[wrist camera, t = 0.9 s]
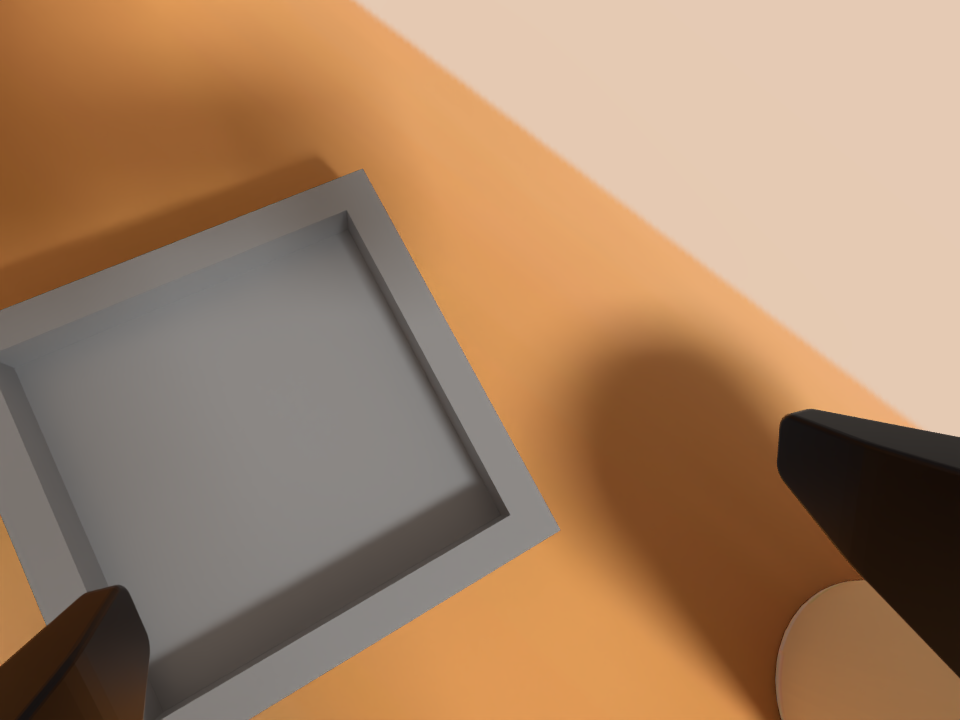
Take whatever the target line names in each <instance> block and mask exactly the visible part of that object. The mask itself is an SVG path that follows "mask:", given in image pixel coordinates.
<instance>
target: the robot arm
mask: <svg viewBox="0 0 960 720" xmlns="http://www.w3.org/2000/svg"><path fill="white" fill-rule="evenodd" d="M777 467H778V471H779V474H780V476H781V478H782V480H783V481H784V483H785V484H786V485H787V486H788V488H789V489H790V490H791V491H792V493H793V494H794V495H795V496H796V498H797V499H798V500H799V501H800V503H801V504H802V505H803V506H804V508H805V509H806V510H807V511H808V513H809V514H810V515H811V516H812V518H813V519H814V520H815V522H816V523H817V524H818V525H819V527H820V528H821V529H822V530H823V532H824V533H825V534H826V535H827V537H828V538H829V539H830V540H831V542H832V543H833V544H834V545H835V547H836V548H837V549H838V550H839V551H840V553H841V554H842V555H843V556H844V557H845V559H846V560H847V561H848V562H849V563H850V564H851V565H852V567H853V568H854V569H855V570H856V571H857V572H858V573H859V574H860V575H861V576H862V577H863V578H864V579H865V581H866V582H867V583H868V584H869V585H870V586H871V587H872V588H873V589H874V590H875V591H876V592H877V593H878V594H879V595H880V596H881V597H882V598H883V599H884V600H885V601H886V602H887V603H888V604H889V606H890V607H891V608H892V609H893V610H894V611H895V612H896V613H897V614H898V615H899V616H900V617H901V618H902V619H903V620H904V621H905V622H906V623H907V624H908V625H909V626H910V627H911V628H912V629H913V631H914V632H915V633H916V634H917V635H918V636H919V637H920V638H921V639H922V640H923V641H924V642H925V643H926V644H927V645H928V646H929V647H930V648H931V649H932V650H933V651H934V652H935V653H936V654H937V656H938V657H939V658H940V659H941V660H942V661H943V662H944V663H945V664H946V665H947V666H948V667H949V668H950V669H951V670H952V671H953V672H954V673H955V674H956V675H957V676H958V677H959V678H960V437H955V436H950V435H945V434H940V433H935V432H930V431H925V430H919V429H914V428H909V427H904V426H899V425H893V424H888V423H883V422H878V421H873V420H867V419H862V418H857V417H852V416H847V415H841V414H836V413H831V412H826V411H821V410H815V409H806V410H802V411H798V412H794V413H791V414H787V415H785V416H784V417H783V418H782V420H781V422H780V427H779V441H778V454H777ZM149 659H150V643H149V638H148V634H147V632H146V629H145V627H144V625H143V622H142V620H141V618H140V616H139V613H138V611H137V609H136V606H135V604H134V602H133V600H132V597H131V595H130V593H129V591H128V590H127V589H126V588H125V587H124V586H122V585H119V584H117V585H113V586H109V587H105V588H101V589H97V590H93V591H89V592H86V593H84V594H82V595H81V596H80V597H79V598H78V599H76V600H75V601H74V602H73V603H72V604H71V605H70V606H69V607H67V608H66V609H65V610H64V611H63V612H62V613H61V614H59V615H58V616H57V617H56V618H55V619H54V620H53V621H51V622H50V623H49V624H48V625H47V626H46V627H45V628H44V629H42V630H41V631H40V632H39V633H38V634H37V635H36V636H34V637H33V638H32V639H31V640H30V641H29V642H28V643H26V644H25V645H24V646H23V647H22V648H21V649H20V650H19V651H17V652H16V653H15V654H14V655H13V656H12V657H11V658H9V659H8V660H7V661H6V662H5V663H4V664H3V665H1V666H0V720H143V716H144V707H145V697H146V688H147V678H148V669H149Z"/></svg>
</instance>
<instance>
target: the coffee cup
mask: <svg viewBox="0 0 960 720" xmlns="http://www.w3.org/2000/svg"><path fill="white" fill-rule="evenodd" d="M775 683H776V695H777V704H778V708H779V713H780V716H781V720H960V678H959V677H958V676H957V675H956V674H955V673H954V672H953V671H952V670H951V669H950V668H949V667H948V666H947V665H946V664H945V663H944V662H943V661H942V660H941V659H940V658H939V657H938V656H937V654H936V653H935V652H934V651H933V650H932V649H931V648H930V647H929V646H928V645H927V644H926V643H925V642H924V641H923V640H922V639H921V638H920V637H919V636H918V635H917V634H916V633H915V632H914V631H913V629H912V628H911V627H910V626H909V625H908V624H907V623H906V622H905V621H904V620H903V619H902V618H901V617H900V616H899V615H898V614H897V613H896V612H895V611H894V610H893V609H892V608H891V607H890V606H889V604H888V603H887V602H886V601H885V600H884V599H883V598H882V597H881V596H880V595H879V594H878V593H877V592H876V591H875V590H874V589H873V588H872V587H871V586H870V585H869V584H868V583H867V582H866V581H865V580H858V581H849V582H843V583H839V584H836V585H833V586H830V587H828V588H826V589H824V590H822V591H820V592H818V593H817V594H815V595H814V596H812V597H811V598H810V599H809V600H808V601H807V602H806V603H804V604H803V605H802V606H801V607H800V609H799V610H798V611H797V613H796V614H795V615H794V617H793V618H792V620H791V621H790V623H789V625H788V627H787V629H786V631H785V633H784V636H783V639H782V642H781V645H780V648H779V652H778V657H777V663H776V678H775Z"/></svg>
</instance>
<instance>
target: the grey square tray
mask: <svg viewBox="0 0 960 720" xmlns="http://www.w3.org/2000/svg"><path fill="white" fill-rule="evenodd" d="M0 515H1V517H2V520H3V522H4V524H5V527H6V529H7V532H8V534H9V536H10V539H11V541H12V544H13V546H14V548H15V551H16V553H17V556H18V558H19V561H20V563H21V565H22V568H23V570H24V573H25V575H26V577H27V580H28V582H29V585H30V587H31V589H32V592H33V594H34V597H35V599H36V602H37V604H38V606H39V609H40V611H41V614H42V616H43V618H44V621H45V623H46V626H47V625H48V624H49V623H50V622H51V621H53V620H54V619H55V618H56V617H57V616H58V615H59V614H61V613H62V612H63V611H64V610H65V609H66V608H67V607H69V606H70V605H71V604H72V603H73V602H74V601H75V600H76V599H78V598H79V597H80V596H81V595H82V594H84V593H86V592H89V591H93V590H97V589H101V588H105V587H109V586H113V585H117V584H119V585H122V586H124V587H125V588H126V589H127V590H128V591H129V593H130V595H131V597H132V600H133V602H134V604H135V606H136V609H137V611H138V613H139V616H140V618H141V620H142V622H143V625H144V627H145V629H146V632H147V634H148V638H149V643H150V659H149V669H148V678H147V688H146V697H145V707H144V716H143V720H249V719H250V718H252V717H254V716H255V715H257V714H259V713H260V712H262V711H264V710H265V709H267V708H268V707H270V706H272V705H273V704H275V703H277V702H278V701H280V700H282V699H283V698H285V697H287V696H288V695H290V694H292V693H293V692H295V691H296V690H298V689H300V688H301V687H303V686H305V685H306V684H308V683H310V682H311V681H313V680H315V679H316V678H318V677H320V676H321V675H323V674H324V673H326V672H328V671H329V670H331V669H333V668H334V667H336V666H338V665H339V664H341V663H343V662H344V661H346V660H348V659H349V658H351V657H352V656H354V655H356V654H357V653H359V652H361V651H362V650H364V649H366V648H367V647H369V646H371V645H372V644H374V643H376V642H377V641H379V640H380V639H382V638H384V637H385V636H387V635H389V634H390V633H392V632H394V631H395V630H397V629H399V628H400V627H402V626H403V625H405V624H407V623H408V622H410V621H412V620H413V619H415V618H417V617H418V616H420V615H422V614H423V613H425V612H427V611H428V610H430V609H431V608H433V607H435V606H436V605H438V604H440V603H441V602H443V601H445V600H446V599H448V598H450V597H451V596H453V595H455V594H456V593H458V592H459V591H461V590H463V589H464V588H466V587H468V586H469V585H471V584H473V583H474V582H476V581H478V580H479V579H481V578H483V577H484V576H486V575H487V574H489V573H491V572H492V571H494V570H496V569H497V568H499V567H501V566H502V565H504V564H506V563H507V562H509V561H511V560H512V559H514V558H515V557H517V556H519V555H520V554H522V553H524V552H525V551H527V550H529V549H530V548H532V547H534V546H535V545H537V544H539V543H540V542H542V541H543V540H545V539H547V538H548V537H550V536H552V535H553V534H555V533H557V532H558V531H560V528H559V526H558V525H557V523H556V521H555V519H554V517H553V515H552V514H551V512H550V510H549V508H548V506H547V504H546V503H545V501H544V499H543V497H542V495H541V493H540V492H539V490H538V488H537V486H536V484H535V483H534V481H533V479H532V477H531V475H530V473H529V472H528V470H527V468H526V466H525V464H524V462H523V461H522V459H521V457H520V455H519V453H518V451H517V450H516V448H515V446H514V444H513V442H512V440H511V439H510V437H509V435H508V433H507V431H506V429H505V428H504V426H503V424H502V422H501V420H500V419H499V417H498V415H497V413H496V411H495V409H494V408H493V406H492V404H491V402H490V400H489V398H488V397H487V395H486V393H485V391H484V389H483V387H482V386H481V384H480V382H479V380H478V378H477V376H476V375H475V373H474V371H473V369H472V367H471V365H470V364H469V362H468V360H467V358H466V356H465V355H464V353H463V351H462V349H461V347H460V345H459V344H458V342H457V340H456V338H455V336H454V334H453V333H452V331H451V329H450V327H449V325H448V323H447V322H446V320H445V318H444V316H443V314H442V312H441V311H440V309H439V307H438V305H437V303H436V301H435V300H434V298H433V296H432V294H431V292H430V291H429V289H428V287H427V285H426V283H425V281H424V280H423V278H422V276H421V274H420V272H419V270H418V269H417V267H416V265H415V263H414V261H413V259H412V258H411V256H410V254H409V252H408V250H407V248H406V247H405V245H404V243H403V241H402V239H401V238H400V236H399V234H398V232H397V230H396V228H395V227H394V225H393V223H392V221H391V219H390V217H389V216H388V214H387V212H386V210H385V208H384V206H383V205H382V203H381V201H380V199H379V197H378V195H377V194H376V192H375V190H374V188H373V186H372V184H371V183H370V181H369V179H368V177H367V175H366V174H365V172H364V170H363V169H360V170H358V171H355V172H353V173H350V174H348V175H345V176H343V177H340V178H337V179H335V180H332V181H330V182H327V183H325V184H322V185H320V186H317V187H314V188H312V189H309V190H307V191H304V192H302V193H299V194H297V195H294V196H291V197H289V198H286V199H284V200H281V201H279V202H276V203H274V204H271V205H268V206H266V207H263V208H261V209H258V210H256V211H253V212H250V213H248V214H245V215H243V216H240V217H238V218H235V219H233V220H230V221H227V222H225V223H222V224H220V225H217V226H215V227H212V228H210V229H207V230H204V231H202V232H199V233H197V234H194V235H192V236H189V237H187V238H184V239H181V240H179V241H176V242H174V243H171V244H169V245H166V246H164V247H161V248H158V249H156V250H153V251H151V252H148V253H146V254H143V255H141V256H138V257H135V258H133V259H130V260H128V261H125V262H123V263H120V264H118V265H115V266H112V267H110V268H107V269H105V270H102V271H100V272H97V273H95V274H92V275H89V276H87V277H84V278H82V279H79V280H77V281H74V282H72V283H69V284H66V285H64V286H61V287H59V288H56V289H54V290H51V291H49V292H46V293H43V294H41V295H38V296H36V297H33V298H31V299H28V300H26V301H23V302H20V303H18V304H15V305H13V306H10V307H8V308H5V309H3V310H0Z"/></svg>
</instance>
